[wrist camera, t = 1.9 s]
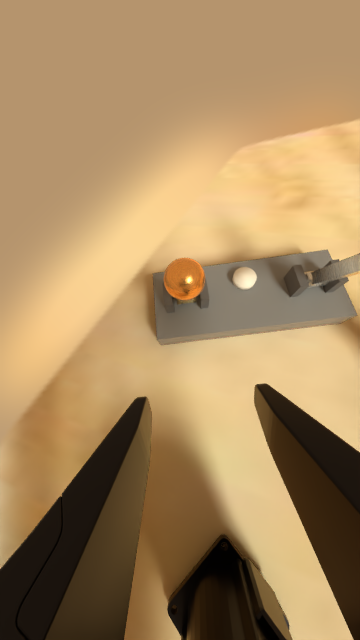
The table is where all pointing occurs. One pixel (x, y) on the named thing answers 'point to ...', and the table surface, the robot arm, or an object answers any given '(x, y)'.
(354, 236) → the table surface
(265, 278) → the switch panel
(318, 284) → the steel lever
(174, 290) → the brass lever
